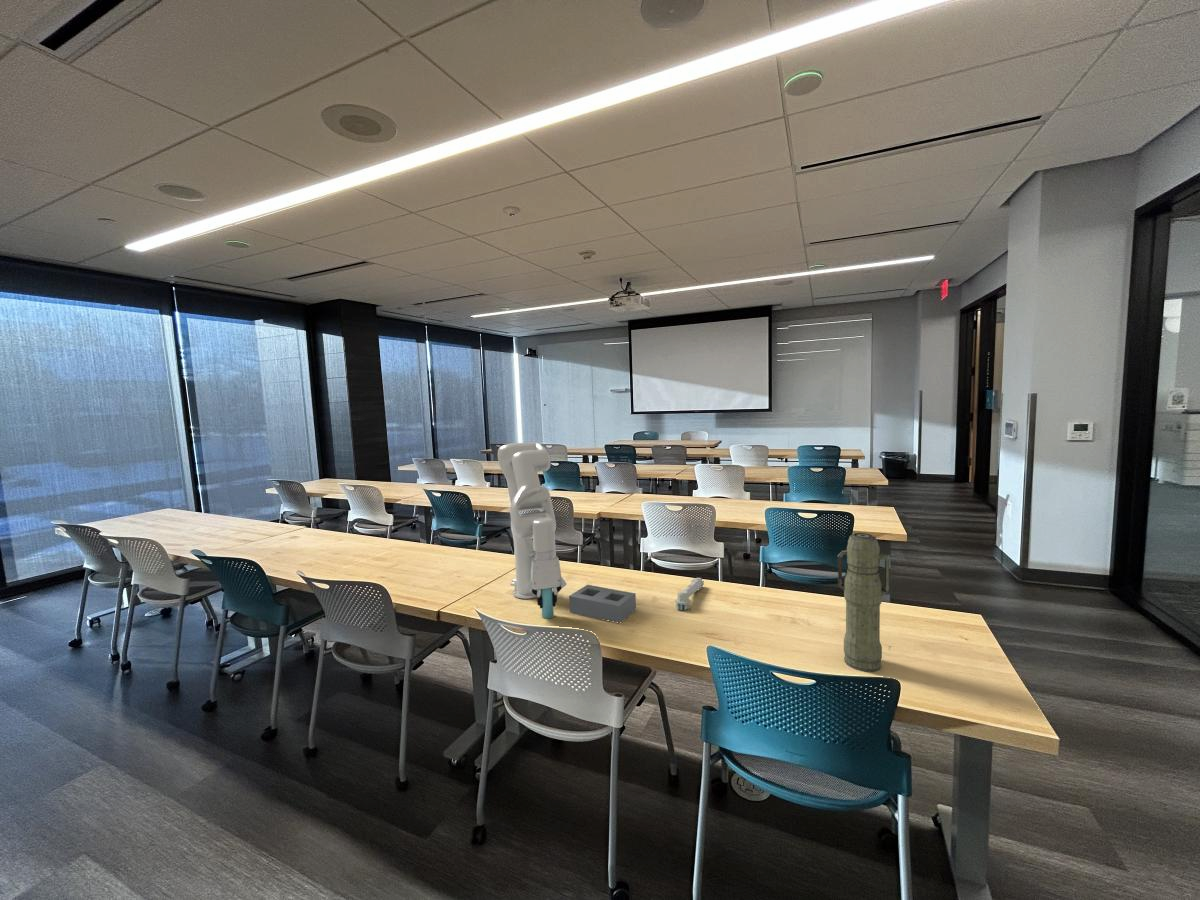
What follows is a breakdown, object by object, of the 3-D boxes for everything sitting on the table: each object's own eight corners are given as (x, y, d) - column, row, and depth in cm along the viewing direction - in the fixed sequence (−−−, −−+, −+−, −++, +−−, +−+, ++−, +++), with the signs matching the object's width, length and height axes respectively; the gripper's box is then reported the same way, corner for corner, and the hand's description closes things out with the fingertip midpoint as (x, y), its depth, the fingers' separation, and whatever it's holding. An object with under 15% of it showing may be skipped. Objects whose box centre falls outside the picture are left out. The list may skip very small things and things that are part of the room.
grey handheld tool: (705, 577, 188) (687, 591, 165) (705, 594, 187) (687, 611, 165) (692, 576, 190) (673, 589, 167) (692, 593, 190) (673, 609, 167)
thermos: (836, 651, 135) (836, 529, 132) (884, 658, 131) (885, 532, 128) (838, 667, 127) (838, 538, 124) (890, 675, 123) (891, 541, 120)
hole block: (569, 612, 169) (569, 595, 169) (588, 600, 179) (587, 584, 179) (619, 623, 159) (618, 606, 158) (636, 610, 169) (635, 593, 168)
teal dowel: (539, 617, 166) (538, 583, 165) (546, 612, 170) (545, 579, 169) (549, 619, 164) (547, 585, 163) (556, 615, 167) (554, 581, 166)
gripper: (521, 560, 159) (524, 613, 161) (570, 554, 163) (573, 607, 165) (519, 553, 167) (522, 605, 168) (567, 548, 170) (569, 598, 172)
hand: (547, 605), depth 166 cm, fingers closed on teal dowel, 4 cm apart
